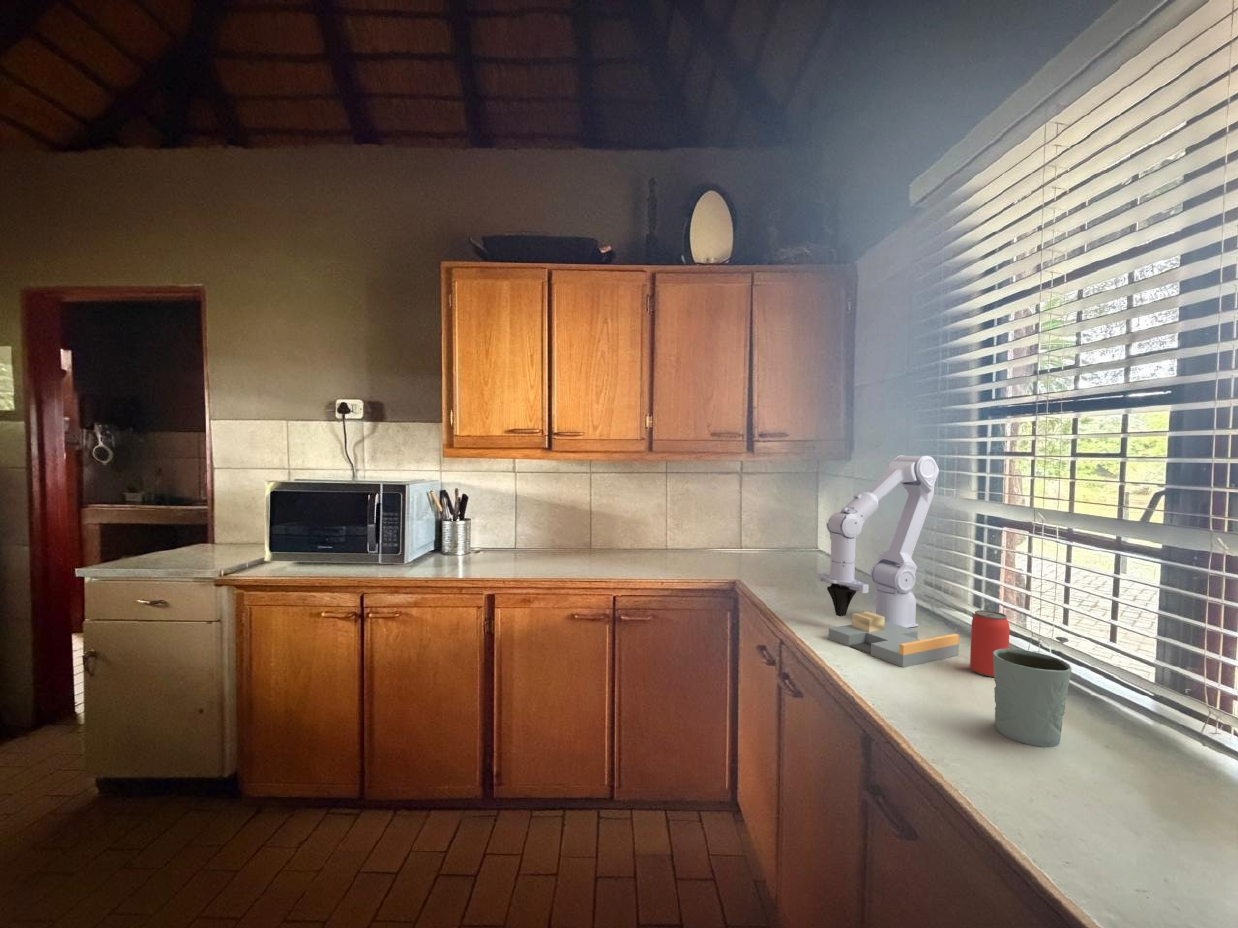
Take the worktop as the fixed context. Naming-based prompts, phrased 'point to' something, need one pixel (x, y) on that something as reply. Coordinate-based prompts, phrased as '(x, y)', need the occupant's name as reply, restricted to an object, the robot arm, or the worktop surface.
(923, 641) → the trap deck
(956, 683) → the worktop surface
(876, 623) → the birch block
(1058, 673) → the grey green oval vase
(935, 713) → the worktop surface
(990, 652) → the beer can
